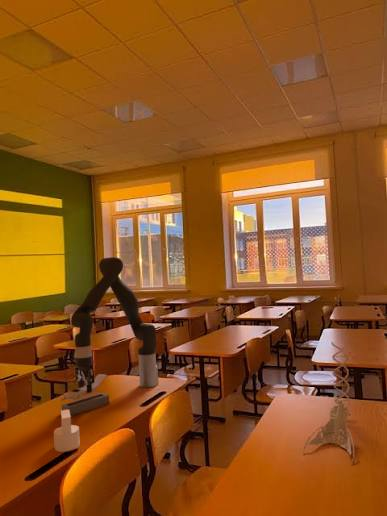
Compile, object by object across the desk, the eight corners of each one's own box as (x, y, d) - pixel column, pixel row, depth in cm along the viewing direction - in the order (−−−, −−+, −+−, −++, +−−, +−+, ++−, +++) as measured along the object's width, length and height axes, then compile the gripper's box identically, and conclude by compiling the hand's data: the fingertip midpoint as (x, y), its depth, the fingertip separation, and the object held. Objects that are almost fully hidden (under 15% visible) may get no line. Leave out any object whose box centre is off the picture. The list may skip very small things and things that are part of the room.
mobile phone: (108, 374, 201) (68, 389, 180) (108, 386, 201) (69, 402, 179) (99, 373, 204) (59, 387, 183) (99, 385, 204) (59, 401, 183)
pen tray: (102, 400, 201) (101, 392, 201) (109, 403, 197) (108, 395, 197) (61, 413, 187) (61, 404, 187) (68, 416, 182) (68, 407, 182)
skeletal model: (301, 455, 136) (312, 387, 152) (308, 467, 142) (318, 400, 158) (352, 465, 128) (358, 392, 144) (357, 477, 133) (363, 405, 149)
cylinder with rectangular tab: (54, 443, 155) (52, 412, 155) (78, 438, 158) (77, 407, 158) (55, 453, 147) (53, 420, 147) (80, 448, 150) (79, 415, 150)
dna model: (349, 411, 171) (345, 339, 171) (353, 417, 164) (349, 343, 164) (332, 412, 171) (328, 340, 171) (336, 418, 165) (332, 343, 165)
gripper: (98, 355, 189) (100, 391, 189) (83, 352, 200) (84, 386, 199) (84, 359, 184) (86, 396, 184) (68, 355, 194) (70, 390, 194)
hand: (85, 390), depth 192 cm, fingers closed on mobile phone, 6 cm apart
